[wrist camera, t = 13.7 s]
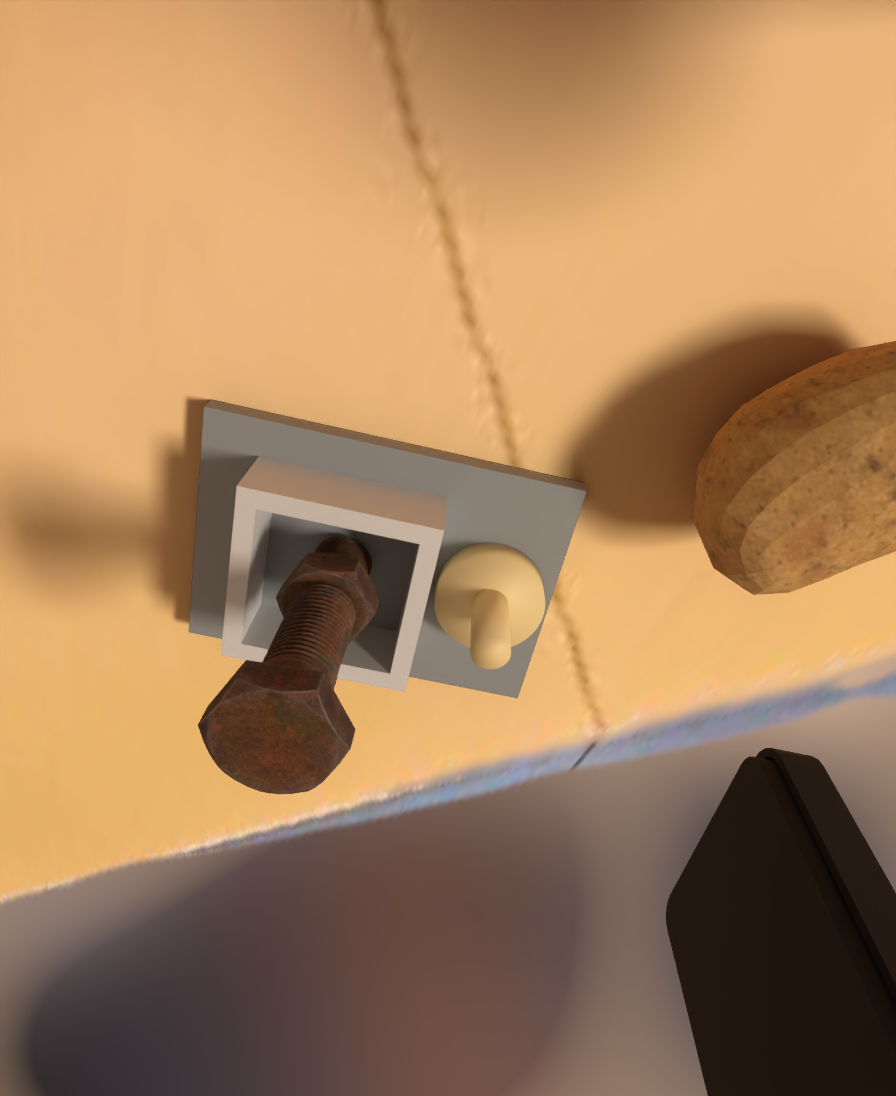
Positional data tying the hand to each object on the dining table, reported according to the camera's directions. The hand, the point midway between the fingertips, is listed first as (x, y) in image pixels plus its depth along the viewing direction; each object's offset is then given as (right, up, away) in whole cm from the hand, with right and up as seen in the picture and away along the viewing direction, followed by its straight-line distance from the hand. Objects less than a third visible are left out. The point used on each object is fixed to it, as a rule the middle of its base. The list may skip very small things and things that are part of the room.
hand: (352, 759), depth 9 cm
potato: (+19, +8, +29) cm, 36 cm away
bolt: (-5, +2, +32) cm, 33 cm away
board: (-3, +2, +33) cm, 33 cm away
